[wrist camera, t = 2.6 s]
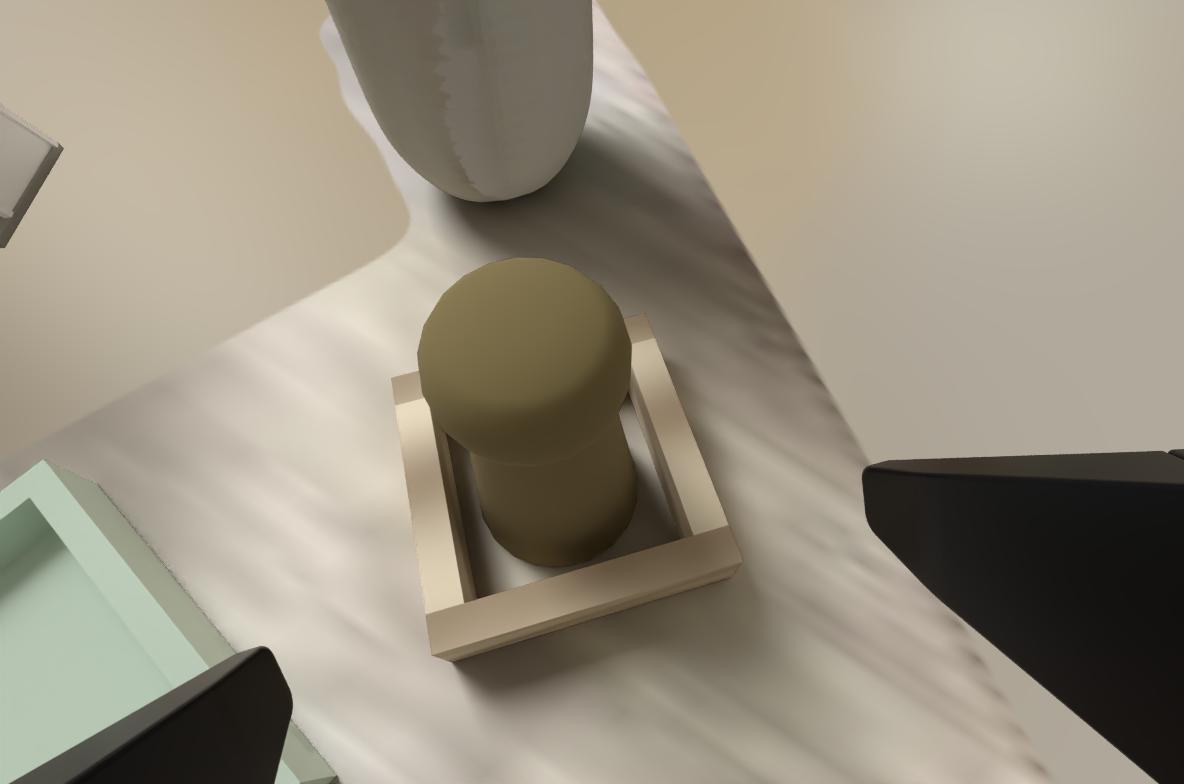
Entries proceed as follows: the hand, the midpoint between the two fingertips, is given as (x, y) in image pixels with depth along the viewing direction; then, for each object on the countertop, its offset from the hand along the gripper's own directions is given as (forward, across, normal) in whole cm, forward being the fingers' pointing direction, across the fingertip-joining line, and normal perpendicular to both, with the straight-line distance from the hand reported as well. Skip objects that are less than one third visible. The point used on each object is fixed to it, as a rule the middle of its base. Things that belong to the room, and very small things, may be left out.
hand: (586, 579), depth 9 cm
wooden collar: (+14, 0, -5) cm, 14 cm away
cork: (+14, 0, -5) cm, 15 cm away
